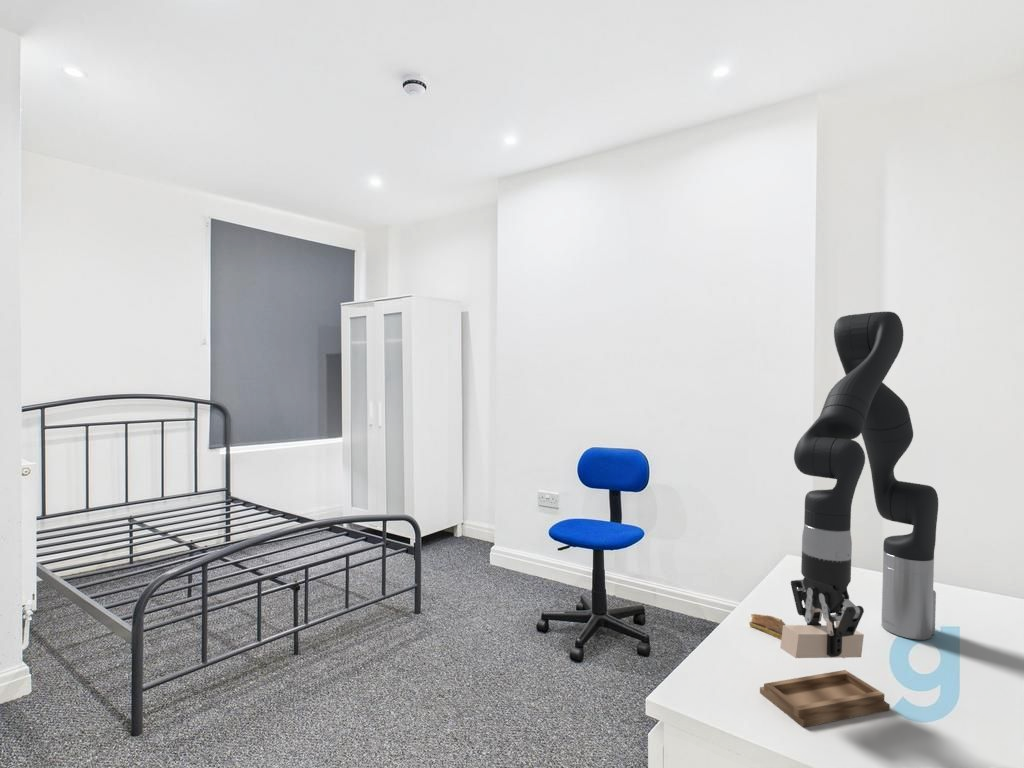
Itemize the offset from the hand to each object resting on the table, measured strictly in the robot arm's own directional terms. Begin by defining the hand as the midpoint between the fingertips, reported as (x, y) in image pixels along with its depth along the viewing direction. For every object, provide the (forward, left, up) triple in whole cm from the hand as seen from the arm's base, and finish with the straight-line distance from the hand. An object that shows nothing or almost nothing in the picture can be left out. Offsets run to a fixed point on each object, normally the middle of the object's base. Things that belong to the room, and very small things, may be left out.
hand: (823, 649), depth 97 cm
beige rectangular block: (+1, 0, 0) cm, 1 cm away
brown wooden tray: (0, 0, -9) cm, 9 cm away
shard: (-12, -25, -10) cm, 29 cm away
